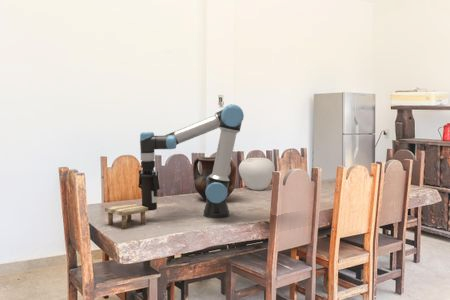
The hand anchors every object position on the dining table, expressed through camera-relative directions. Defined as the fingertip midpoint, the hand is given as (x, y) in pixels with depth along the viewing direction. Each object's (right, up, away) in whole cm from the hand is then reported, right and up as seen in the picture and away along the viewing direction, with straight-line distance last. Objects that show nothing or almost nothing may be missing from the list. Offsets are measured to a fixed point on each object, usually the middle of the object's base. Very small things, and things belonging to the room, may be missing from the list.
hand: (149, 201), depth 242 cm
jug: (+34, -6, +60) cm, 70 cm away
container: (0, -5, 0) cm, 5 cm away
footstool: (-11, -11, -8) cm, 17 cm away
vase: (+67, -3, +106) cm, 126 cm away
